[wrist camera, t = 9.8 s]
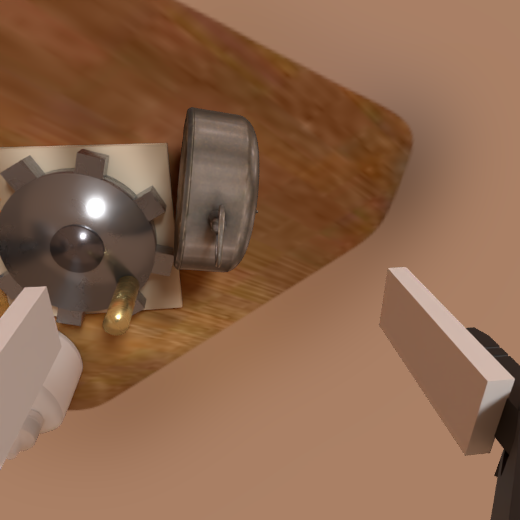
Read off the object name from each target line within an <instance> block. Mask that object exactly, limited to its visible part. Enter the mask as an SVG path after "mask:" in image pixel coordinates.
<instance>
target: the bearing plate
mask: <svg viewBox="0 0 520 520" xmlns="http://www.w3.org/2000/svg"><path fill="white" fill-rule="evenodd" d="M81 149H86V150H90V151H94V152H98V153H102V154H106V155H109V162H108V168H107V175H108V176H110V177H113V178H115V179H116V180H118V181H120V182H121V183H123V184H124V185H126V186H127V187H128V188H130V189H131V190H132V191H133V192H134V193H135V194H136V195H137V194H139V193H140V192H142V191H144V190H145V189H147V188H149V187H151V186H152V185H153V186H154V188H155V189H156V191H157V192H158V194H159V195H160V197H161V198H162V199H163V201H164V202H165V204H166V205H167V207H166V211H165V212H164V213H163V214H161V215H159V216H157V217H156V218H154V219H153V221H154V224H155V228H156V233H157V244H159V245H163V246H168V247H173V248H174V231H175V220H174V209H173V199H172V189H171V178H170V168H169V157H168V147H167V143H155V144H116V145H76V146H36V147H0V173H1V172H2V171H4V170H6V169H7V168H9V167H11V166H12V165H14V164H15V163H17V162H19V161H20V160H22V159H24V158H26V157H27V156H29V155H30V156H31V157H32V158H33V159H34V161H35V162H36V163H37V164H38V166H39V167H40V168H41V169H42V170H43V172H44V173H46V172H49V171H52V170H57V169H63V168H75V163H76V155H77V152H78V151H80V150H81ZM14 192H15V191H14V189H13V188H12V187H11V186H10V185H9V184H8V182H7V181H6V180H5V179H4V178H3V177H2V176H1V174H0V211H1V210H2V208H3V206H4V204H5V203H6V202H7V200H8V199H9V198H10V196H11V195H12V194H13V193H14ZM5 271H7V269H6V267H5V265H4V263H3V261H2V259H1V256H0V275H1V274H2V273H3V272H5ZM139 291H140V292H141V293H142V294H143V296H144V297H145V298H146V299H147V300H146V304H145V309H143V310H151V309H166V308H180V307H182V292H181V282H180V272H179V270H177V269H176V268H175V267H174V261H173V265H172V269H171V273H170V276H164V275H159V274H154V273H151V274H150V276H149V278H148V280H147V281H146V283H145V284H144V286H143V287H142V288H141V289H140V290H139ZM6 295H7V294H6ZM7 298H8V302H9V305H11V304H12V303H13V302H14V300H15V299H16V298H17V297H16V298H15V299H13V300H12V299H11V298H10V297H9V296H8V295H7ZM51 306H52V305H51ZM52 310H53V314H54V316H57V312H58V307H55V306H52ZM107 310H108V309H104V310H100V311H90V312H86V313H85V314H94V313H107Z"/></svg>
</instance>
